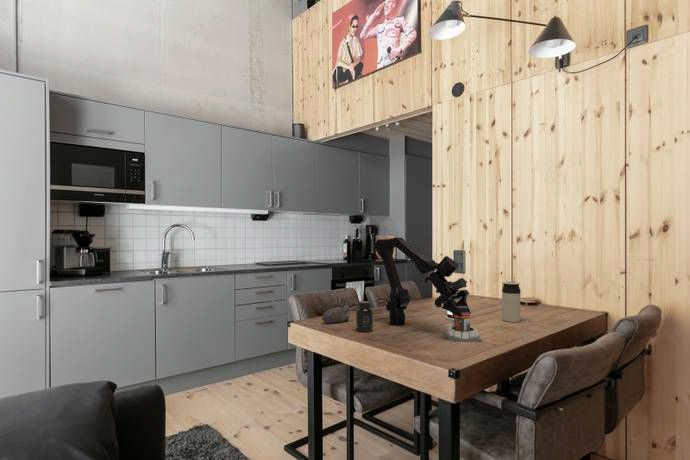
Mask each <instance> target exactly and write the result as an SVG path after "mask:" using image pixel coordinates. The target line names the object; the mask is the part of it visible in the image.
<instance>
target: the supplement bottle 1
mask: <svg viewBox="0 0 690 460" xmlns="http://www.w3.org/2000/svg"><path fill="white" fill-rule="evenodd" d="M355 312H356V313H355V314H356V316H355V317H356V323H355V324H356V326H355V327H356V328H355V329H356V331H357V332H359V333H370V332H372V331H373V325H374V324H373V323H374V322H373V321H374V319H373V318H374V317H373V313H374V312H373V309H372V308H371V301H368V300H367V301H365V300H361V301H359V302H358V308H357V309H356V311H355Z"/></svg>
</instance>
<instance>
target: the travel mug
mask: <svg viewBox="0 0 690 460" xmlns="http://www.w3.org/2000/svg"><path fill="white" fill-rule="evenodd" d="M502 284H503V286H502V288H501V291H502V292H501V310H502V311H501V319H502V320H503V322H508V323H519V322H520V321H521V288H520V284H521V283H520V282H519V281H511V280H510V281H509V280H507V281H505V280H504V281H503V282H502Z"/></svg>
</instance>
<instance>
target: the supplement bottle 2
mask: <svg viewBox="0 0 690 460" xmlns="http://www.w3.org/2000/svg"><path fill="white" fill-rule="evenodd" d="M457 307H458V309H459V311H460V312H461V314H462V317H459V316H457V315H455V314H454V315H453V318H454V325H453V326H454V330H457V331H470V326H471V315H470V313H469V312H468V311H467V307H466V306H457Z"/></svg>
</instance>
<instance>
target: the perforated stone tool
mask: <svg viewBox="0 0 690 460" xmlns="http://www.w3.org/2000/svg"><path fill="white" fill-rule="evenodd" d="M350 309H351V308H350V306H349V305H345V306H344V305H343V306H337V307H333V308H330V309H327V310H325V312H323V313H322V315H321V320H322V322H324V323H325V324H337V323H342V322H347V321H349V319H350V315H351V314H350Z"/></svg>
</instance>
